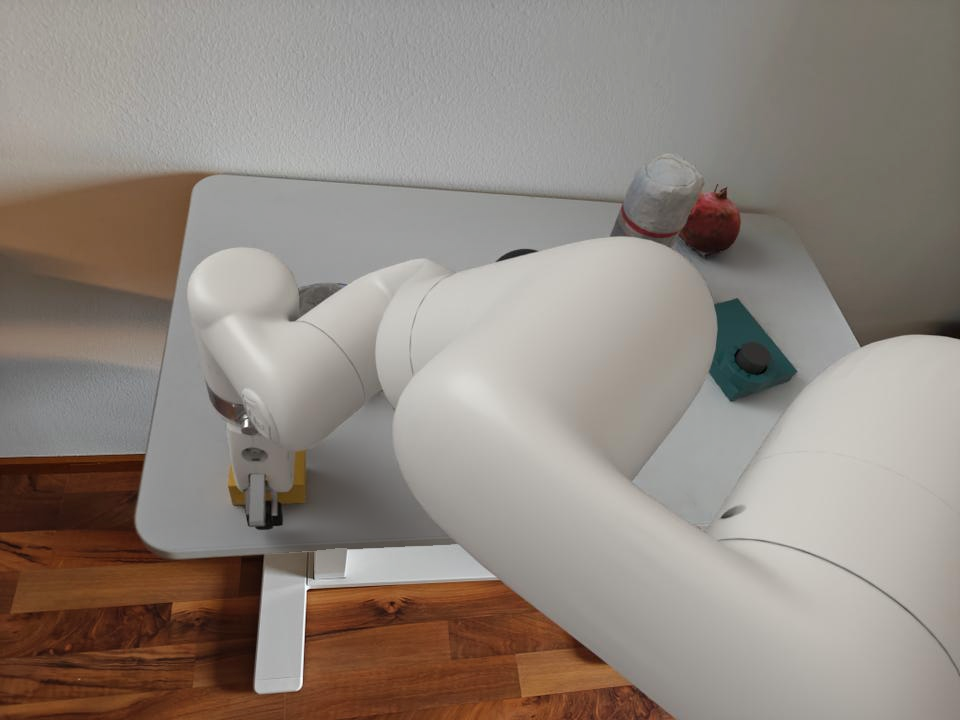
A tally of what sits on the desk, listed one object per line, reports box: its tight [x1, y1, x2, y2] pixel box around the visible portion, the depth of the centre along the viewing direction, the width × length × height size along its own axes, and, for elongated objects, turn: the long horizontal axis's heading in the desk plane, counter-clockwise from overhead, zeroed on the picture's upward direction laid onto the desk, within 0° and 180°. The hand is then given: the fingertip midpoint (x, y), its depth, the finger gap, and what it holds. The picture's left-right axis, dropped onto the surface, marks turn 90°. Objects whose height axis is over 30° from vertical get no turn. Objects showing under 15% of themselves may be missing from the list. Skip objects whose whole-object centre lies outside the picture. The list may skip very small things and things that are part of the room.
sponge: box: [227, 450, 307, 506], centre depth 72 cm, size 7×4×4 cm, turn 96°
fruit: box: [678, 183, 742, 259], centre depth 104 cm, size 9×10×10 cm
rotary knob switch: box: [708, 297, 798, 402], centre depth 94 cm, size 14×10×4 cm
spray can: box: [609, 152, 705, 249], centre depth 92 cm, size 8×8×20 cm
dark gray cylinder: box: [736, 342, 771, 375], centre depth 89 cm, size 4×4×2 cm
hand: (268, 478), depth 73 cm, fingers open, 9 cm apart
